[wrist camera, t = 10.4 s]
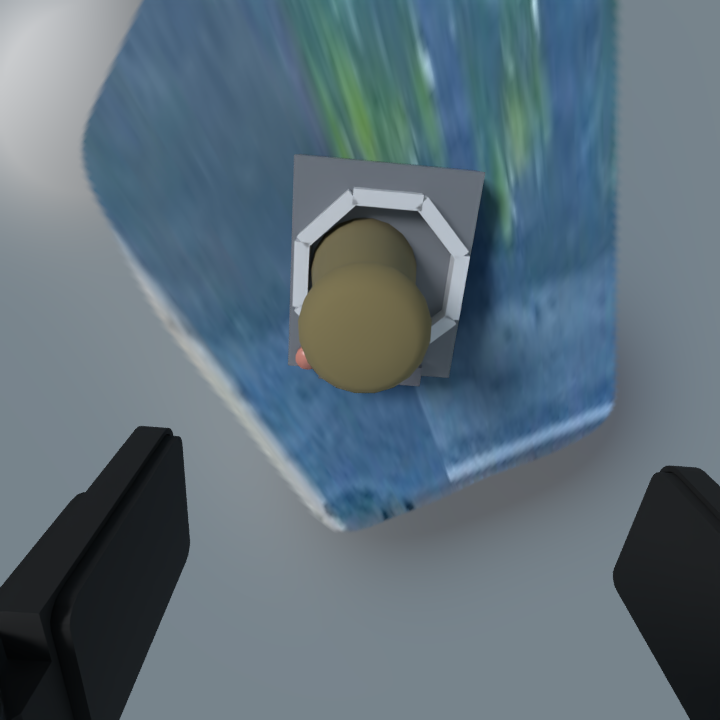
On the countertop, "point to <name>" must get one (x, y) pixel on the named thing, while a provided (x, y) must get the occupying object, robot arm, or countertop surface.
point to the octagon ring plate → (406, 214)
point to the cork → (364, 308)
